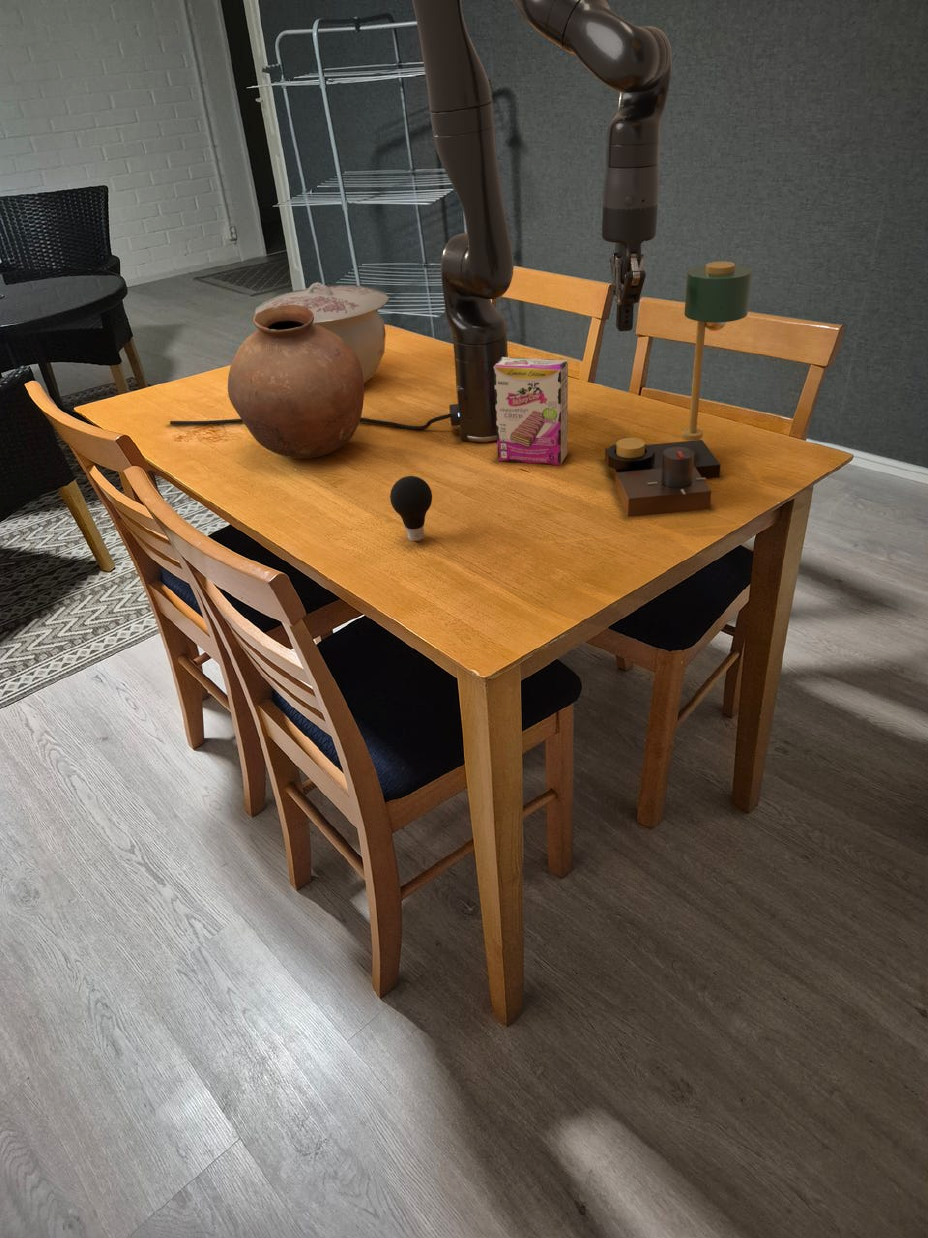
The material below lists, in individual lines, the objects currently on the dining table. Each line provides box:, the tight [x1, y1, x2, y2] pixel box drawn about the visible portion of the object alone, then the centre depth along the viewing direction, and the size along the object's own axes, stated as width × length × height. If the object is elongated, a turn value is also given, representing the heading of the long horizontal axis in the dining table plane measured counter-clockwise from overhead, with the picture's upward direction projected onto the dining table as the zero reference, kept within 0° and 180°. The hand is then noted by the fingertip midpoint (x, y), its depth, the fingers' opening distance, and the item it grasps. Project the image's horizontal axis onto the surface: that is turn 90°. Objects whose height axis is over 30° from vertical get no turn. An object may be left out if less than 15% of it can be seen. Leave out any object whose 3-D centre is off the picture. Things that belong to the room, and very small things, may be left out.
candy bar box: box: [494, 356, 569, 466], centre depth 138 cm, size 11×5×16 cm, turn 71°
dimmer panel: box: [615, 465, 712, 518], centre depth 126 cm, size 12×9×3 cm
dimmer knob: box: [661, 447, 694, 488], centre depth 124 cm, size 4×4×5 cm
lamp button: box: [615, 437, 646, 458], centre depth 133 cm, size 4×4×2 cm
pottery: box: [227, 304, 365, 459], centre depth 145 cm, size 23×23×25 cm
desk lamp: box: [681, 261, 753, 441], centre depth 128 cm, size 9×9×26 cm
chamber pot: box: [254, 282, 389, 384], centre depth 177 cm, size 28×28×21 cm
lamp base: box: [604, 439, 721, 484], centre depth 135 cm, size 17×10×4 cm, turn 93°
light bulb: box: [389, 475, 433, 543], centre depth 119 cm, size 6×6×10 cm
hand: (624, 329), depth 127 cm, fingers closed
